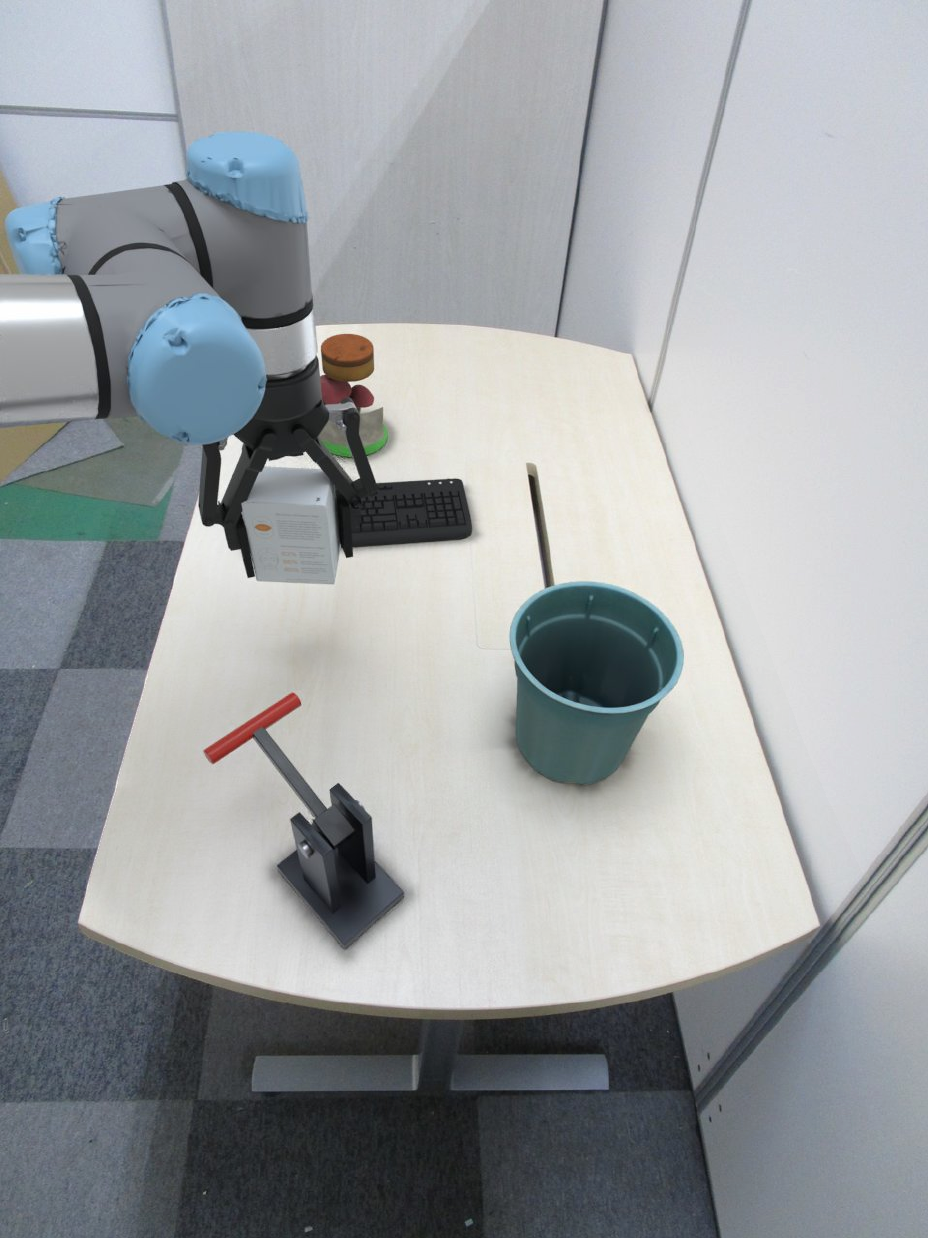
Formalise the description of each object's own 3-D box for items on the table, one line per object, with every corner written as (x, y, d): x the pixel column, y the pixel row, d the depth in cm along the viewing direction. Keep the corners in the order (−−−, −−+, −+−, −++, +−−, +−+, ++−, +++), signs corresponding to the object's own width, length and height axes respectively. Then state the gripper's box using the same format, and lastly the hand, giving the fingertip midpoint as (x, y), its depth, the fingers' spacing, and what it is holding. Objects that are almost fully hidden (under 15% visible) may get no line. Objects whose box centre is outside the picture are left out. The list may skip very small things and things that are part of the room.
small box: (341, 548, 83) (335, 468, 75) (335, 586, 79) (327, 505, 71) (265, 544, 83) (251, 463, 75) (254, 582, 79) (238, 500, 71)
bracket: (277, 870, 74) (258, 803, 64) (337, 824, 77) (327, 754, 68) (344, 950, 69) (334, 890, 60) (404, 897, 73) (404, 833, 63)
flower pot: (484, 682, 90) (496, 583, 78) (622, 672, 92) (654, 574, 80) (509, 811, 79) (527, 720, 67) (664, 797, 81) (709, 705, 69)
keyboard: (249, 554, 102) (247, 543, 100) (250, 500, 109) (248, 489, 107) (473, 538, 106) (474, 527, 105) (460, 487, 113) (461, 476, 112)
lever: (203, 755, 66) (202, 746, 64) (291, 697, 71) (293, 687, 69) (296, 880, 64) (299, 874, 62) (381, 812, 68) (387, 804, 66)
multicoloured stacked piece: (307, 415, 123) (298, 325, 112) (388, 414, 125) (386, 325, 114) (306, 461, 115) (296, 369, 104) (392, 459, 117) (391, 368, 106)
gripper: (388, 318, 69) (391, 515, 85) (124, 350, 63) (182, 555, 79) (415, 362, 64) (412, 561, 81) (132, 401, 58) (192, 607, 75)
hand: (298, 558), depth 80 cm, fingers closed on small box, 9 cm apart
